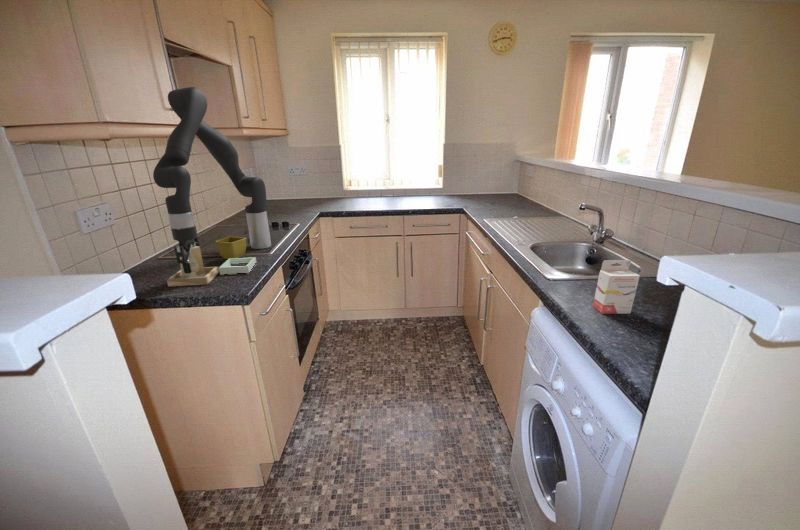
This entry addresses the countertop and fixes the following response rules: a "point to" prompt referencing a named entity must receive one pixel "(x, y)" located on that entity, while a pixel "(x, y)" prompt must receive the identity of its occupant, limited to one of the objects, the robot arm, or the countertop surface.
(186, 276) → the skincare box
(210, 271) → the frame
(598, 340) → the countertop surface
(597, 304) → the ink cartridge box
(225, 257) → the flower pot
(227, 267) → the parts tray
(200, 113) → the robot arm
